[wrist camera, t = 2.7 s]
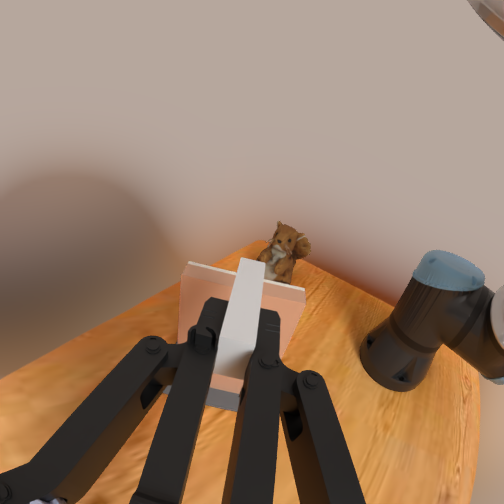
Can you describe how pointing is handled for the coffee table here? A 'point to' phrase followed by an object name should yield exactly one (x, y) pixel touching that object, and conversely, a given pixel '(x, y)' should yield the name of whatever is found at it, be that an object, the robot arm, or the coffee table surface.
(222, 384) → the tile
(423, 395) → the coffee table surface
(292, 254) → the stuffed squirrel
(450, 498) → the coffee table surface
